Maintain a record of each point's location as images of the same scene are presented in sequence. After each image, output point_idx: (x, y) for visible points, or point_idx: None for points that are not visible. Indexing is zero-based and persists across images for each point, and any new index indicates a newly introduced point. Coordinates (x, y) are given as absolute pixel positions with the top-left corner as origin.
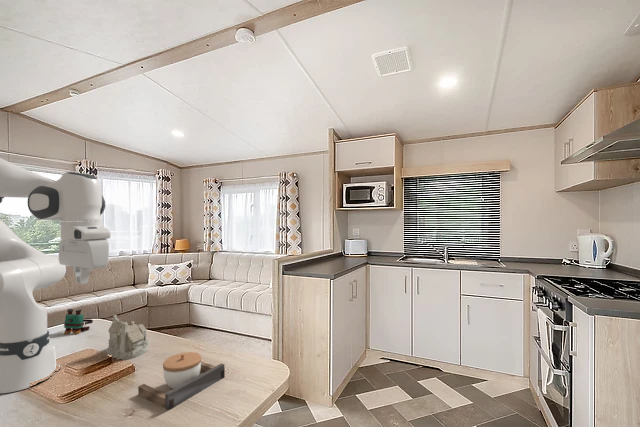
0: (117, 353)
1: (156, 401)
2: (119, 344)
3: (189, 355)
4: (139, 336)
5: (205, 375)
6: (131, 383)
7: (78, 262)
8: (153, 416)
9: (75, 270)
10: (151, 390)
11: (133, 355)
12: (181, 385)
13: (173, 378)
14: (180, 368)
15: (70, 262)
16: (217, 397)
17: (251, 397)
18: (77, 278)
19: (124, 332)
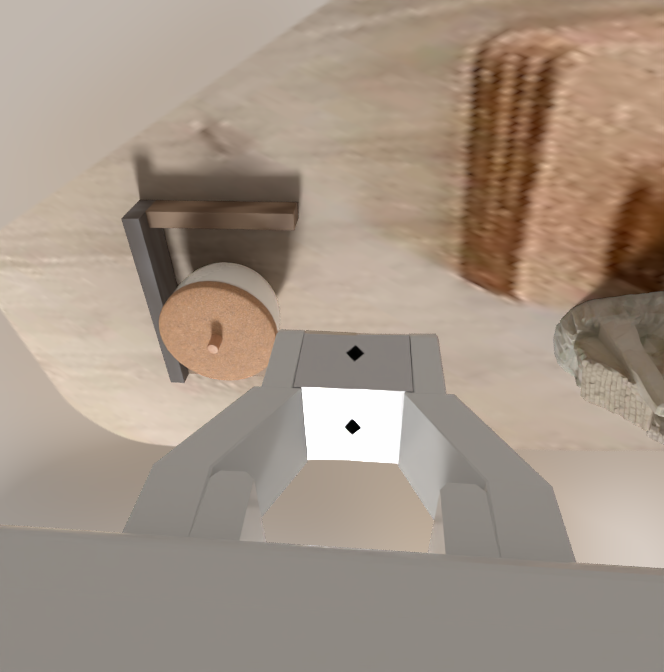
0: (627, 309)
1: (197, 204)
2: (657, 340)
3: (224, 360)
4: (593, 392)
5: (155, 327)
6: (390, 229)
7: (17, 657)
8: (142, 161)
9: (480, 486)
10: (229, 219)
11: (563, 328)
12: (147, 266)
13: (191, 275)
14: (166, 302)
15: (599, 667)
16: (103, 292)
17: (42, 325)
18: (381, 371)
19: (639, 377)
